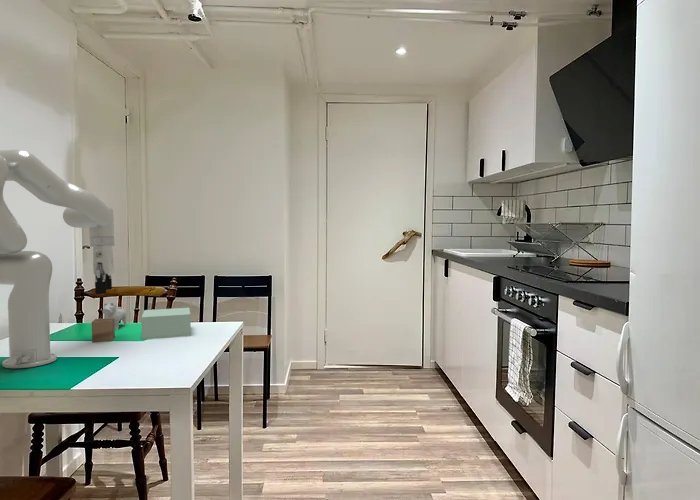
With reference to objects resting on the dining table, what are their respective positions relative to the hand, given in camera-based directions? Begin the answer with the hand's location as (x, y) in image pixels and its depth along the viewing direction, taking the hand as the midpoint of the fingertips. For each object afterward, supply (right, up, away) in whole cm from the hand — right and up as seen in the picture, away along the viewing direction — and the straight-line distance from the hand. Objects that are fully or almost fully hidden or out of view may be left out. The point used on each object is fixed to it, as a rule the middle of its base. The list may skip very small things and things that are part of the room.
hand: (103, 291), depth 158 cm
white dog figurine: (-7, -16, +20) cm, 27 cm away
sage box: (+17, -17, +11) cm, 26 cm away
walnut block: (0, -17, 0) cm, 17 cm away
